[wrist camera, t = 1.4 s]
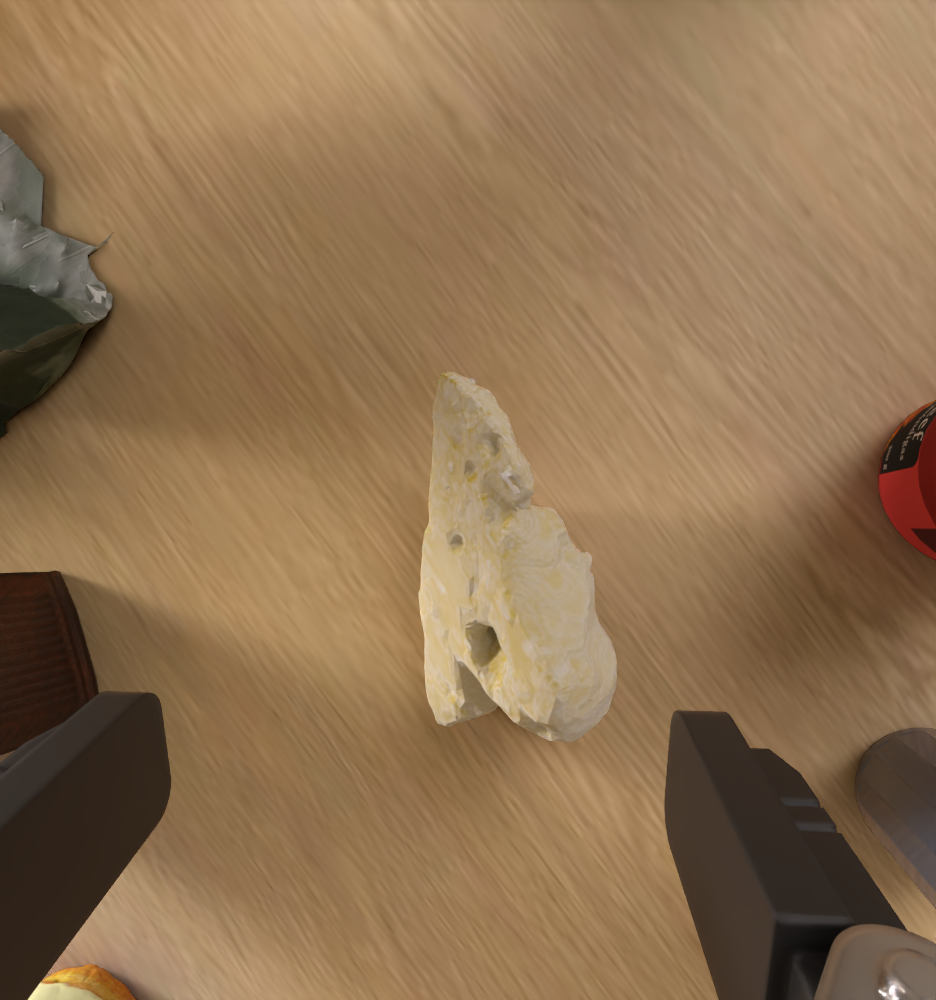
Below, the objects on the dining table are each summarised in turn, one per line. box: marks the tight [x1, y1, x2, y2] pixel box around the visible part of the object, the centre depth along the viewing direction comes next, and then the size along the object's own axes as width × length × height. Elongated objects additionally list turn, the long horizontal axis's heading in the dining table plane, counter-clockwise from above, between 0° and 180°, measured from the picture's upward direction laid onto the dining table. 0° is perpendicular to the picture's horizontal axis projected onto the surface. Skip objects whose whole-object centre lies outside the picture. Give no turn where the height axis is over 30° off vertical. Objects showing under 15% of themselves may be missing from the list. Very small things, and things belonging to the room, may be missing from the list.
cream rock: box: [418, 372, 617, 742], centre depth 31 cm, size 15×7×15 cm
